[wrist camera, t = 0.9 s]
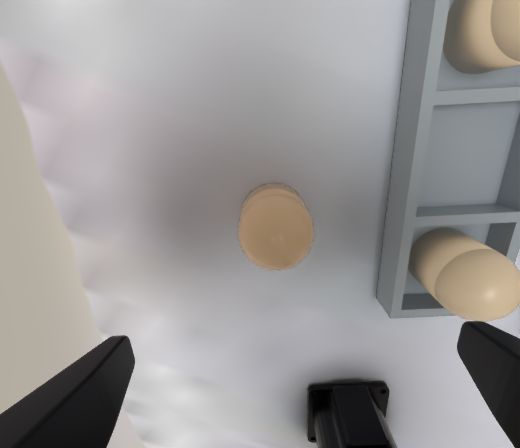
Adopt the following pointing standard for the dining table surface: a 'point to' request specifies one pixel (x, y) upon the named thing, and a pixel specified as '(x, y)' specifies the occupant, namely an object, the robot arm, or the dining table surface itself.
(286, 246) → the egg
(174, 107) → the dining table surface
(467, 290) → the carton
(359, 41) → the dining table surface
